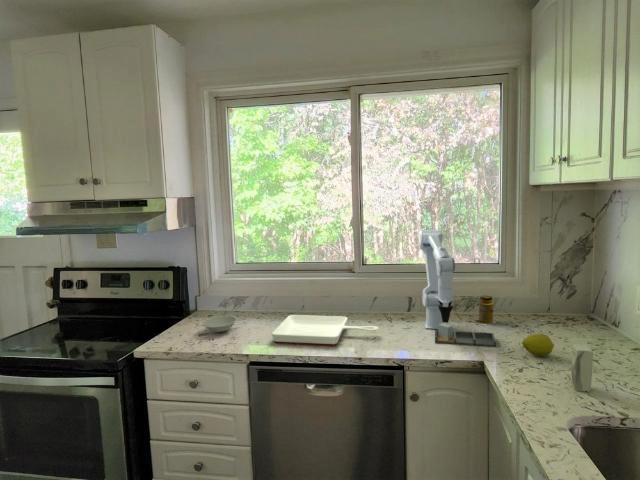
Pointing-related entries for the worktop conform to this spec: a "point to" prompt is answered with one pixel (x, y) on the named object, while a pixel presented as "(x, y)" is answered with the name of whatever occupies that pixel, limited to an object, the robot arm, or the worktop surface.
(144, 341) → the worktop surface
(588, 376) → the box
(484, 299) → the condiment
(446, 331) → the pale blue block
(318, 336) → the pan
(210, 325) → the dish
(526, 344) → the lemon
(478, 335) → the tray
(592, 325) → the worktop surface
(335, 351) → the worktop surface
